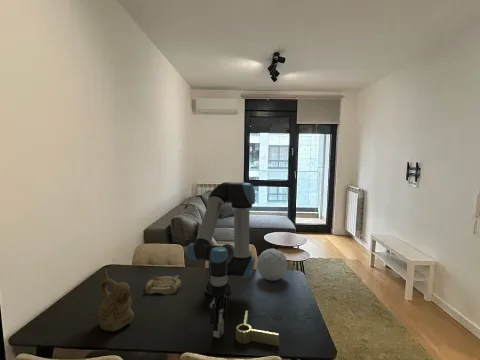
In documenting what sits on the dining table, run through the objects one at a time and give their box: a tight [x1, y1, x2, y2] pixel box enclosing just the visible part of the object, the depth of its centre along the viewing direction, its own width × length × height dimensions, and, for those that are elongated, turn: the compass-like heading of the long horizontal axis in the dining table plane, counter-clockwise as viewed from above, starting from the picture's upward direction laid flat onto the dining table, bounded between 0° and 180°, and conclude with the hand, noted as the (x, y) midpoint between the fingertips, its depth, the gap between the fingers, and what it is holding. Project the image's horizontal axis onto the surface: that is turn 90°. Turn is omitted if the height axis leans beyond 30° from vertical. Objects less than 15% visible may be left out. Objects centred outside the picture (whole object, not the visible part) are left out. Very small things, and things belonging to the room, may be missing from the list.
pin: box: [218, 308, 223, 339], centre depth 133 cm, size 4×4×12 cm
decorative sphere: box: [256, 248, 289, 282], centre depth 195 cm, size 20×20×20 cm
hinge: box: [235, 310, 279, 347], centre depth 134 cm, size 21×18×5 cm
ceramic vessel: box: [96, 268, 135, 333], centre depth 141 cm, size 17×20×25 cm
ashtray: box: [144, 274, 183, 296], centre depth 182 cm, size 24×24×5 cm
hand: (218, 334), depth 134 cm, fingers closed on pin, 3 cm apart
